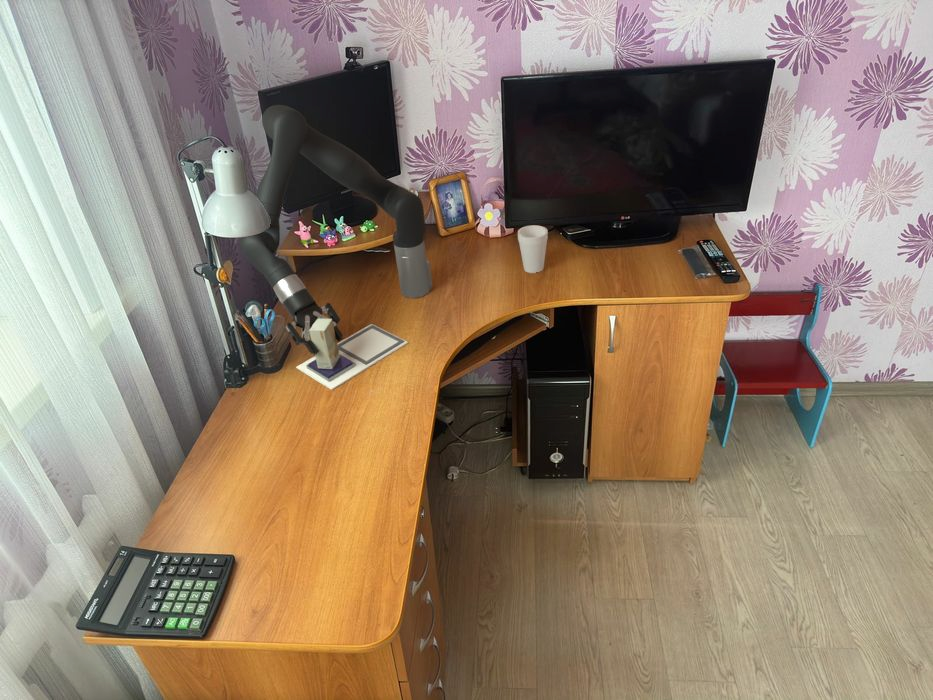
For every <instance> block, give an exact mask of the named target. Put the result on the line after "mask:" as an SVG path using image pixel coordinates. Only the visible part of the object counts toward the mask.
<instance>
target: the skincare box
mask: <svg viewBox="0 0 933 700" xmlns="http://www.w3.org/2000/svg"><path fill="white" fill-rule="evenodd" d="M309 332H310V333H309V337H310V340H311V341H312V342H313V344H314V345H315V346H316V348H317V349H318V351H319V352H318V353H317V354H316V355H314V356H315V357H316V361H317V366H318V368H321V369H333V368H334V366H335V365H336V363H337V361H338V359H339V358H340V354H339V349H338V345H337V343H338V341H337V339H336V335H335V331H334V326H333V321H332V319H330V318H329V319H317V320H316V321H315V323H314V324H313V325H312V327H311V328H310V330H309Z"/></svg>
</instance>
